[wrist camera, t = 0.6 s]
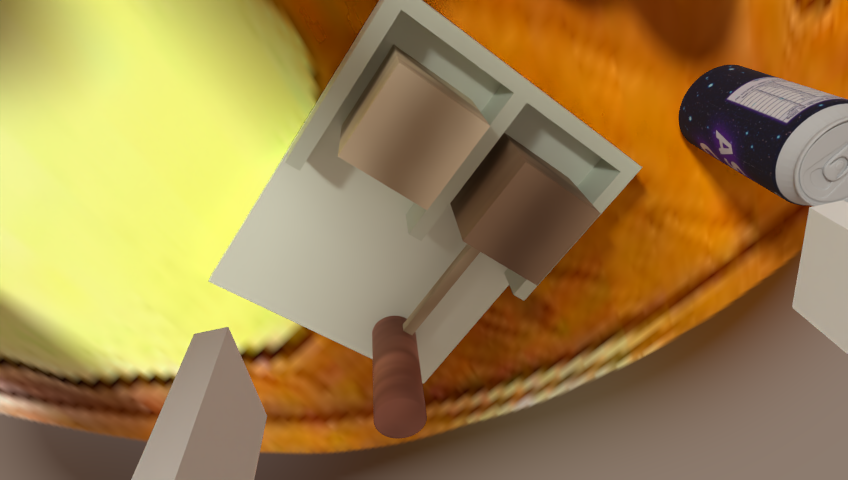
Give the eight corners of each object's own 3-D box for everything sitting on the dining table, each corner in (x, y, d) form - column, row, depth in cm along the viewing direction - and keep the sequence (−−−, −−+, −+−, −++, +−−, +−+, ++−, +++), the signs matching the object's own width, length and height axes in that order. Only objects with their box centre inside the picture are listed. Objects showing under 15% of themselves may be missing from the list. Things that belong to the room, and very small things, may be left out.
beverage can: (655, 110, 38) (767, 172, 28) (722, 44, 37) (868, 83, 26) (703, 159, 40) (823, 234, 30) (768, 98, 39) (920, 155, 28)
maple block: (341, 125, 36) (337, 156, 30) (393, 44, 34) (399, 62, 28) (418, 173, 38) (427, 210, 32) (471, 99, 36) (490, 126, 30)
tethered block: (349, 332, 43) (346, 419, 35) (502, 131, 37) (540, 181, 29) (413, 363, 45) (423, 451, 37) (568, 177, 39) (621, 236, 31)
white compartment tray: (211, 274, 41) (197, 304, 37) (392, -23, 33) (396, -19, 29) (422, 375, 47) (427, 409, 44) (617, 147, 39) (642, 167, 36)
